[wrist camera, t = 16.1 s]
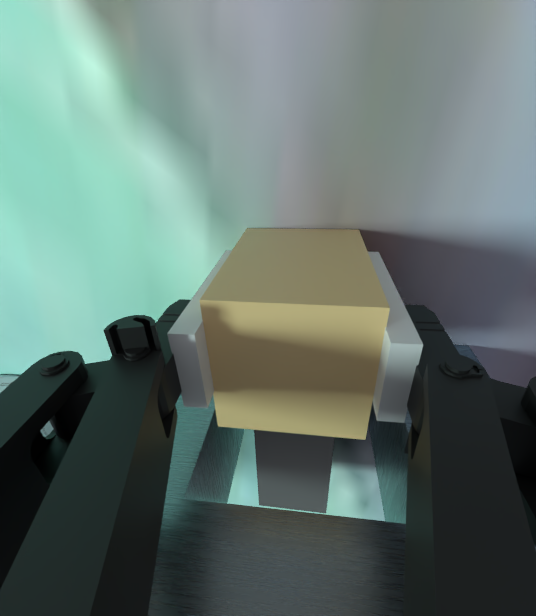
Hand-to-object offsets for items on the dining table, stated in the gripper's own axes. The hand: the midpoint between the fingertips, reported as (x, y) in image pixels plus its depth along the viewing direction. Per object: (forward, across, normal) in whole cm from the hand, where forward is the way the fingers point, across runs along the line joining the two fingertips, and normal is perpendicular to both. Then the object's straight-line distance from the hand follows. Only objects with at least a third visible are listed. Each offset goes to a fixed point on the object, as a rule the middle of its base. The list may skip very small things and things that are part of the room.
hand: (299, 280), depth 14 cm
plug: (+1, 0, -6) cm, 6 cm away
